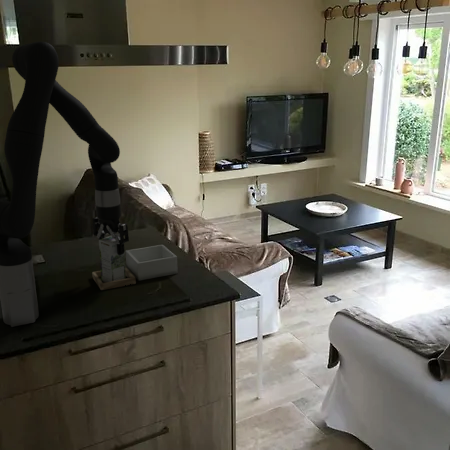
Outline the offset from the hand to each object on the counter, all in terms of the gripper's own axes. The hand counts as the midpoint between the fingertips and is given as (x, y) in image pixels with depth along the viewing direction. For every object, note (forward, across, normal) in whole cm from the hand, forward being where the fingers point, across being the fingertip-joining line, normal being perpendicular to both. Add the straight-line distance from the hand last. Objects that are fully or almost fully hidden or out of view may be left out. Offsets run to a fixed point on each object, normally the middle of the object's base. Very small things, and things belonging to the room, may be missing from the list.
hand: (111, 251), depth 167 cm
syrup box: (+10, 0, 0) cm, 10 cm away
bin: (+10, -4, -14) cm, 17 cm away
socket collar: (+10, 0, 0) cm, 10 cm away
